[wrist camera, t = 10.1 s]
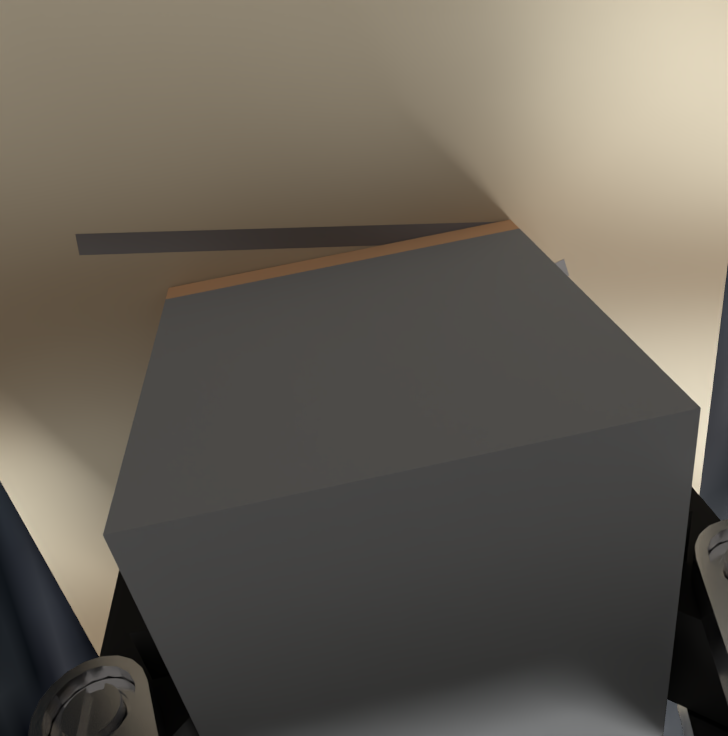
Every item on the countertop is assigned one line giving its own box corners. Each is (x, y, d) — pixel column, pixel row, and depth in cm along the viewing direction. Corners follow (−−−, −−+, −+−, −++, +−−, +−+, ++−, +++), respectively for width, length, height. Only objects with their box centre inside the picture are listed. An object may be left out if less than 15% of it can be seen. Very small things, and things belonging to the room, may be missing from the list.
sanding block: (528, 593, 14) (648, 866, 10) (287, 647, 14) (302, 949, 10) (510, 219, 10) (699, 407, 6) (168, 287, 10) (103, 534, 6)
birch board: (646, 619, 18) (677, 671, 16) (178, 725, 17) (172, 786, 16) (775, -982, 6) (911, -1228, 5) (-595, -792, 6) (-835, -1009, 5)
